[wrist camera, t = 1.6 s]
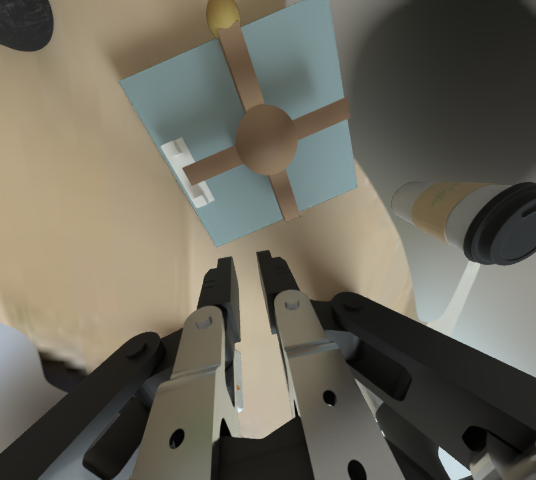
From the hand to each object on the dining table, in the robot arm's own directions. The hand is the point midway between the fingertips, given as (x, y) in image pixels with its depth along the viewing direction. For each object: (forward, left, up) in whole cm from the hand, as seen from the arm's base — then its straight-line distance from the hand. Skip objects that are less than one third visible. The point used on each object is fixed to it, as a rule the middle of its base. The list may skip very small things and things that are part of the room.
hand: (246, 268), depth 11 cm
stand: (+5, -5, -19) cm, 20 cm away
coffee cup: (-12, -26, -19) cm, 35 cm away
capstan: (+6, -5, -16) cm, 18 cm away
